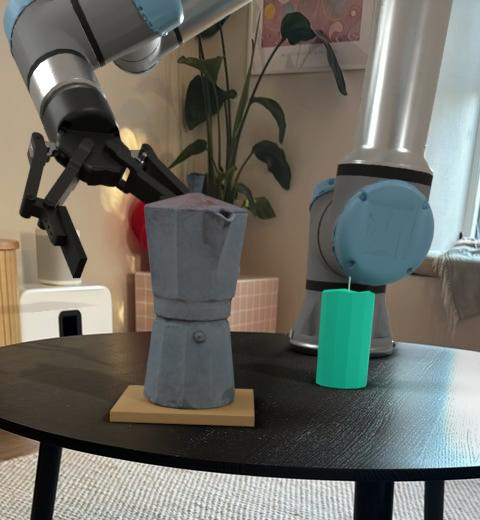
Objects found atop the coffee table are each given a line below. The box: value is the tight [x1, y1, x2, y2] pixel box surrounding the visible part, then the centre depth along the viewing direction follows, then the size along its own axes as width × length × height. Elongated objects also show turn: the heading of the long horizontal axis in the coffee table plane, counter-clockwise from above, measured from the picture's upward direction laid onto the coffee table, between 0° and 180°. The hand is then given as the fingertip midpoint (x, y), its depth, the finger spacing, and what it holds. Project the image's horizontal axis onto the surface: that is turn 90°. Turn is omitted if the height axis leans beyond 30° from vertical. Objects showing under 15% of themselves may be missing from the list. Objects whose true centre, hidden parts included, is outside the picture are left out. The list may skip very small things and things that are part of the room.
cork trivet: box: [109, 384, 255, 428], centre depth 73 cm, size 13×12×1 cm
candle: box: [315, 277, 375, 390], centre depth 86 cm, size 6×6×12 cm
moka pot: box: [143, 171, 249, 409], centre depth 69 cm, size 10×15×20 cm, turn 34°
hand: (143, 268), depth 76 cm, fingers open, 13 cm apart
